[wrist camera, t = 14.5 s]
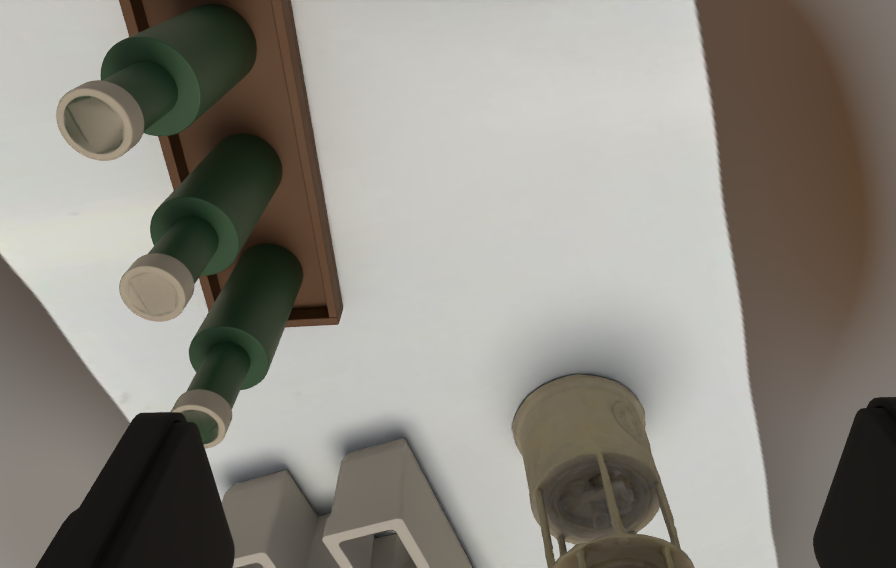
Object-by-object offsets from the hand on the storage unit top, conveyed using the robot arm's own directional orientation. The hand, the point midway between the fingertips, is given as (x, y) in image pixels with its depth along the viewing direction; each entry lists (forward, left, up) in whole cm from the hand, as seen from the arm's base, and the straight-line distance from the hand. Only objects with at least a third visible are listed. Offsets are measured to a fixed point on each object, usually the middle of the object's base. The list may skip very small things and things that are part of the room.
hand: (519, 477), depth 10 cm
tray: (-1, -16, -34) cm, 37 cm away
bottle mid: (-1, -16, -33) cm, 37 cm away
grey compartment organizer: (+35, -30, -34) cm, 57 cm away
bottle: (-7, -13, -33) cm, 36 cm away
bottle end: (+6, -19, -33) cm, 39 cm away
